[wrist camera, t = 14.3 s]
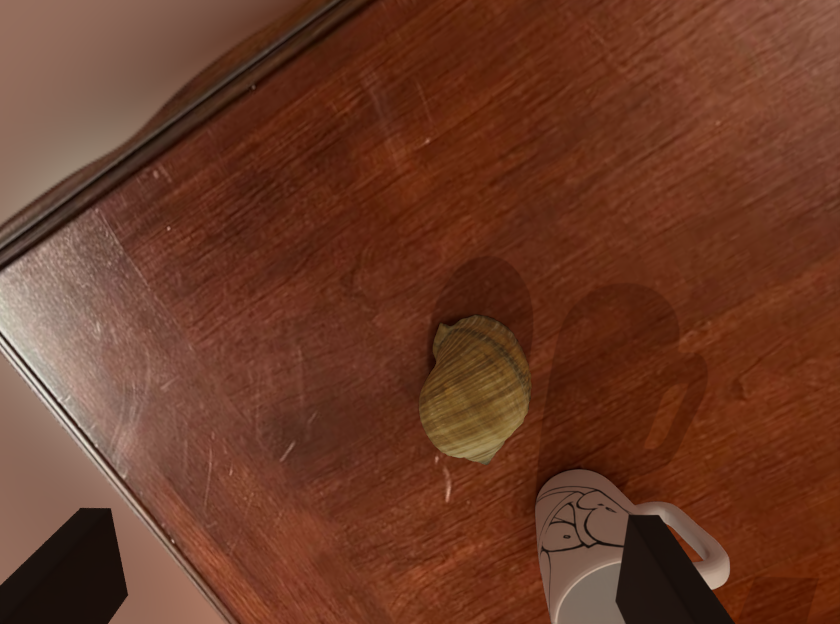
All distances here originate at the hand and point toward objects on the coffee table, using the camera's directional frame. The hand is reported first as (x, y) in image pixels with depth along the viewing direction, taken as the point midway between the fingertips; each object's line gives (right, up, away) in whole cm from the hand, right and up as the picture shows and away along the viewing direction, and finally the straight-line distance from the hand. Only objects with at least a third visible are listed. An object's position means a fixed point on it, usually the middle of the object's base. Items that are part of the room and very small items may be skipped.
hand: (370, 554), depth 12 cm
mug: (+15, -8, +24) cm, 29 cm away
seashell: (+5, +2, +21) cm, 22 cm away
